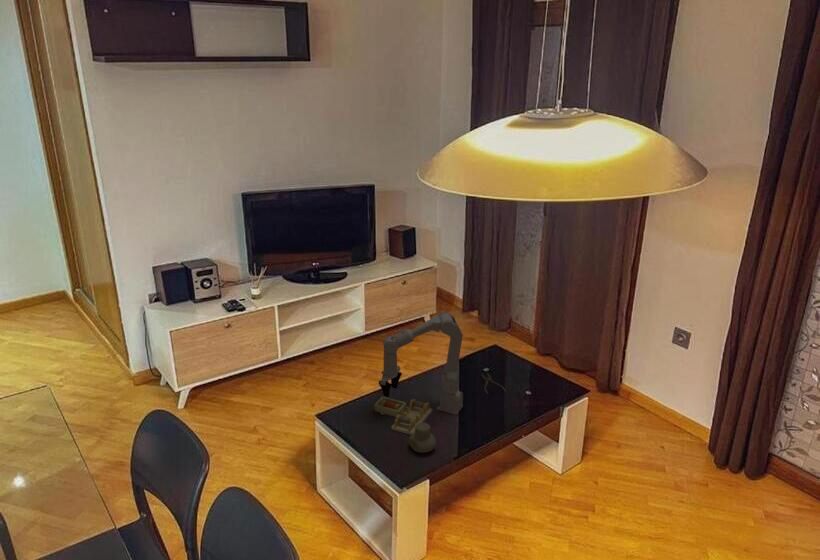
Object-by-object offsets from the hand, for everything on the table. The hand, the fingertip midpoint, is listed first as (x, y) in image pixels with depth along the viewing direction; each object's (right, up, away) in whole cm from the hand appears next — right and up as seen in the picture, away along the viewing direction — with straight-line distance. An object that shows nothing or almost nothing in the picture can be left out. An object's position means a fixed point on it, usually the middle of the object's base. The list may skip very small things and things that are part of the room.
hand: (390, 392), depth 267 cm
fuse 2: (+12, -7, +1) cm, 14 cm away
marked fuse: (0, -8, +3) cm, 8 cm away
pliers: (+45, -1, +26) cm, 52 cm away
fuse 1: (+6, -11, -11) cm, 17 cm away
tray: (0, -8, +3) cm, 9 cm away
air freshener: (+13, -18, -23) cm, 32 cm away
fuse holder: (+9, -11, -4) cm, 15 cm away
